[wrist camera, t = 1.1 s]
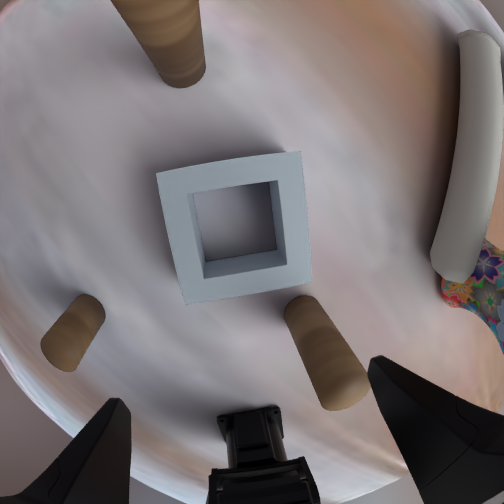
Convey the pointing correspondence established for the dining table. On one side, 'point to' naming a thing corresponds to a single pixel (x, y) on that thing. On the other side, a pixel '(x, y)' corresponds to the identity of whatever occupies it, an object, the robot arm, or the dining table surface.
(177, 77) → the long walnut dowel
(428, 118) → the dining table surface
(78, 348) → the short walnut dowel
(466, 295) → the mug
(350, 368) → the medium walnut dowel
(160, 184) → the slate collar block
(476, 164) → the tube
